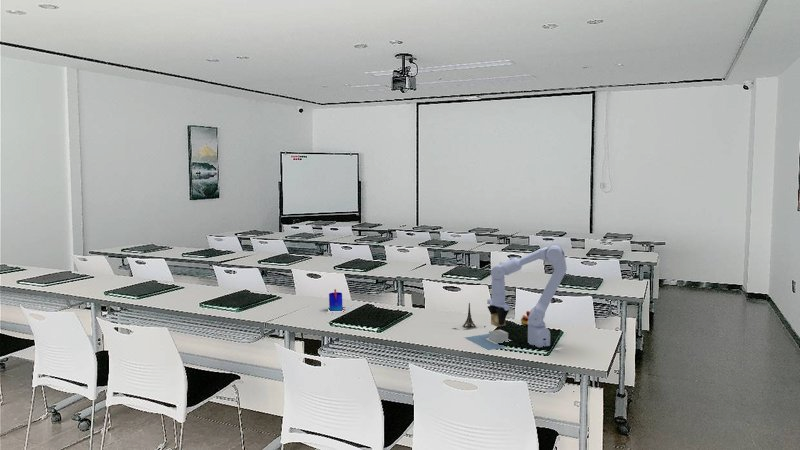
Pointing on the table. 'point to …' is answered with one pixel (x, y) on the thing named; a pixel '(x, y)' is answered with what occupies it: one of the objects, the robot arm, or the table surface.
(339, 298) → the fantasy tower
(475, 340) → the board
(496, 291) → the robot arm
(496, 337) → the base block
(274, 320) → the table surface
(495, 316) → the wooden cube
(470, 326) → the eiffel tower figurine
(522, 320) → the small brown rounded figure
